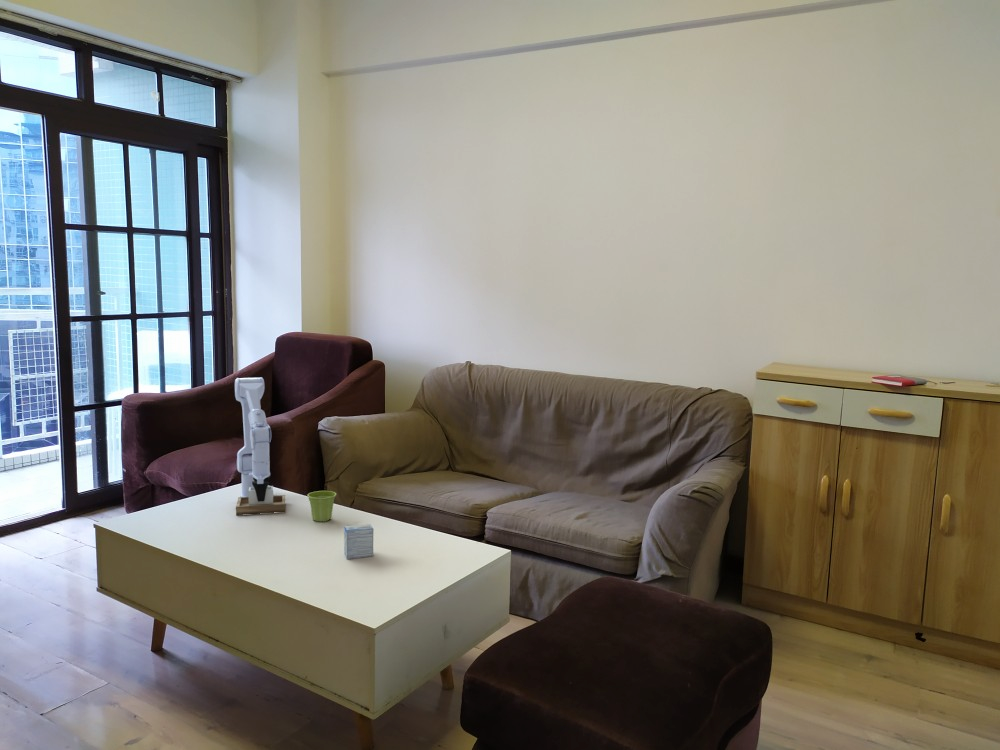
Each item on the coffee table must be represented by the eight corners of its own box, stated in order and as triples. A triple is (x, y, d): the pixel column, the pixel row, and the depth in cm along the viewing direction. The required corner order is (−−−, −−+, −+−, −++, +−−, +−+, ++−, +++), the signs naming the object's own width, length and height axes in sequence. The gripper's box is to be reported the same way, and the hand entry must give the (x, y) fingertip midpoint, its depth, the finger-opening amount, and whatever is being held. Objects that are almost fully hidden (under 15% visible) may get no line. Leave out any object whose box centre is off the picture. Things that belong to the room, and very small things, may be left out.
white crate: (249, 502, 259) (249, 487, 258) (273, 501, 261) (273, 485, 261) (248, 506, 254) (248, 490, 254) (272, 505, 256) (272, 489, 256)
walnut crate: (238, 505, 262) (238, 497, 261) (285, 502, 266) (285, 494, 266) (236, 515, 250) (235, 506, 250) (285, 512, 254) (285, 504, 254)
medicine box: (370, 551, 219) (370, 523, 218) (373, 556, 215) (373, 527, 214) (343, 554, 216) (343, 525, 215) (346, 559, 212) (346, 530, 211)
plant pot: (306, 516, 251) (306, 491, 250) (335, 514, 254) (335, 489, 253) (308, 524, 242) (308, 498, 241) (337, 522, 245) (337, 497, 244)
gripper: (249, 456, 262) (250, 494, 263) (247, 466, 248) (248, 505, 250) (270, 456, 264) (271, 493, 265) (269, 465, 250) (269, 504, 251)
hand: (261, 499), depth 258 cm, fingers closed on white crate, 5 cm apart
